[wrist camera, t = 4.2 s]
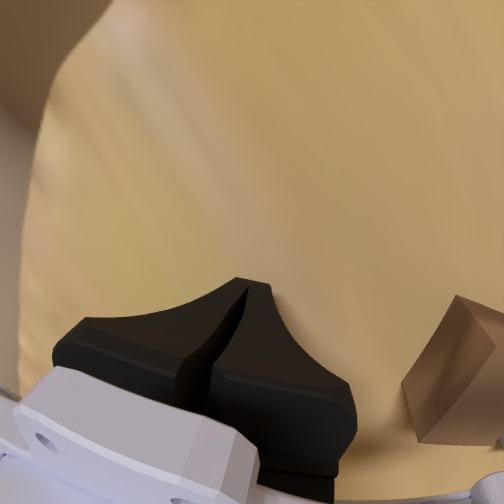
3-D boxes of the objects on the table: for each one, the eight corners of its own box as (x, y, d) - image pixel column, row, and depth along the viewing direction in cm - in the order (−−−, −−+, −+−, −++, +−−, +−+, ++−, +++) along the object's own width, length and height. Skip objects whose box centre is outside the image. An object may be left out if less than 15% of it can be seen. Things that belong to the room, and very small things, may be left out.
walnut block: (454, 293, 11) (496, 346, 7) (519, 319, 11) (558, 364, 7) (400, 380, 13) (418, 442, 9) (468, 393, 13) (491, 445, 9)
